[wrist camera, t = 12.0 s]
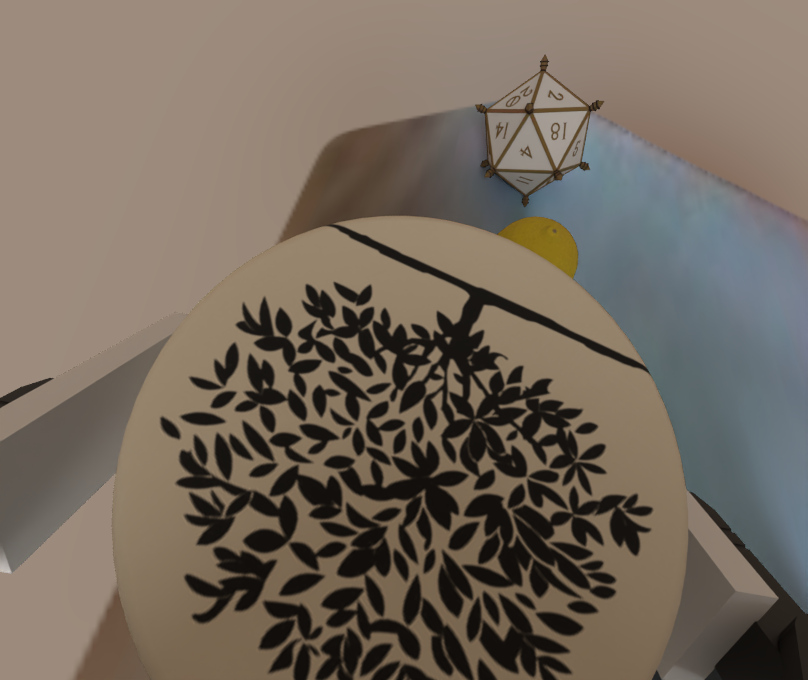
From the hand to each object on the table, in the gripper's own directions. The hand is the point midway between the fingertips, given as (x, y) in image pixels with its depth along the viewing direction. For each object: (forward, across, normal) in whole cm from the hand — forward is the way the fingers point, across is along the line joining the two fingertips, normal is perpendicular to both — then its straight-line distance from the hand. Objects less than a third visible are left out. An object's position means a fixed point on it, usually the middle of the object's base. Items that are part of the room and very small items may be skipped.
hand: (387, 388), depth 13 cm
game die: (+24, +8, +8) cm, 27 cm away
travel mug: (+6, 0, -10) cm, 11 cm away
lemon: (+16, +7, -1) cm, 18 cm away
